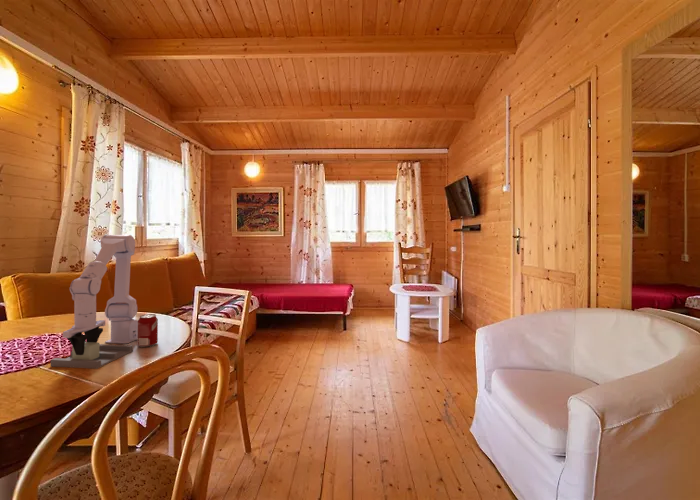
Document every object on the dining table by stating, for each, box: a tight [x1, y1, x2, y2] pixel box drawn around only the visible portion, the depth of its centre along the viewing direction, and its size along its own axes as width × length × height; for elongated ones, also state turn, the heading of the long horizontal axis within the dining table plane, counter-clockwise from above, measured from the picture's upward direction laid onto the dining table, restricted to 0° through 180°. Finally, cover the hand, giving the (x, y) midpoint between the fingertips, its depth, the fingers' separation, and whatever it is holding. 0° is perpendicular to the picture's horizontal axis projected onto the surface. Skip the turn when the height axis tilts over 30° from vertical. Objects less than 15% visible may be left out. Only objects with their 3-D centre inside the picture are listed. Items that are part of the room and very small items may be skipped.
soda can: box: [137, 313, 159, 348], centre depth 127 cm, size 7×7×12 cm
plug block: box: [71, 341, 100, 360], centre depth 109 cm, size 6×4×5 cm, turn 88°
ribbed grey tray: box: [50, 343, 134, 369], centre depth 112 cm, size 16×16×2 cm
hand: (85, 352), depth 109 cm, fingers closed on plug block, 4 cm apart
